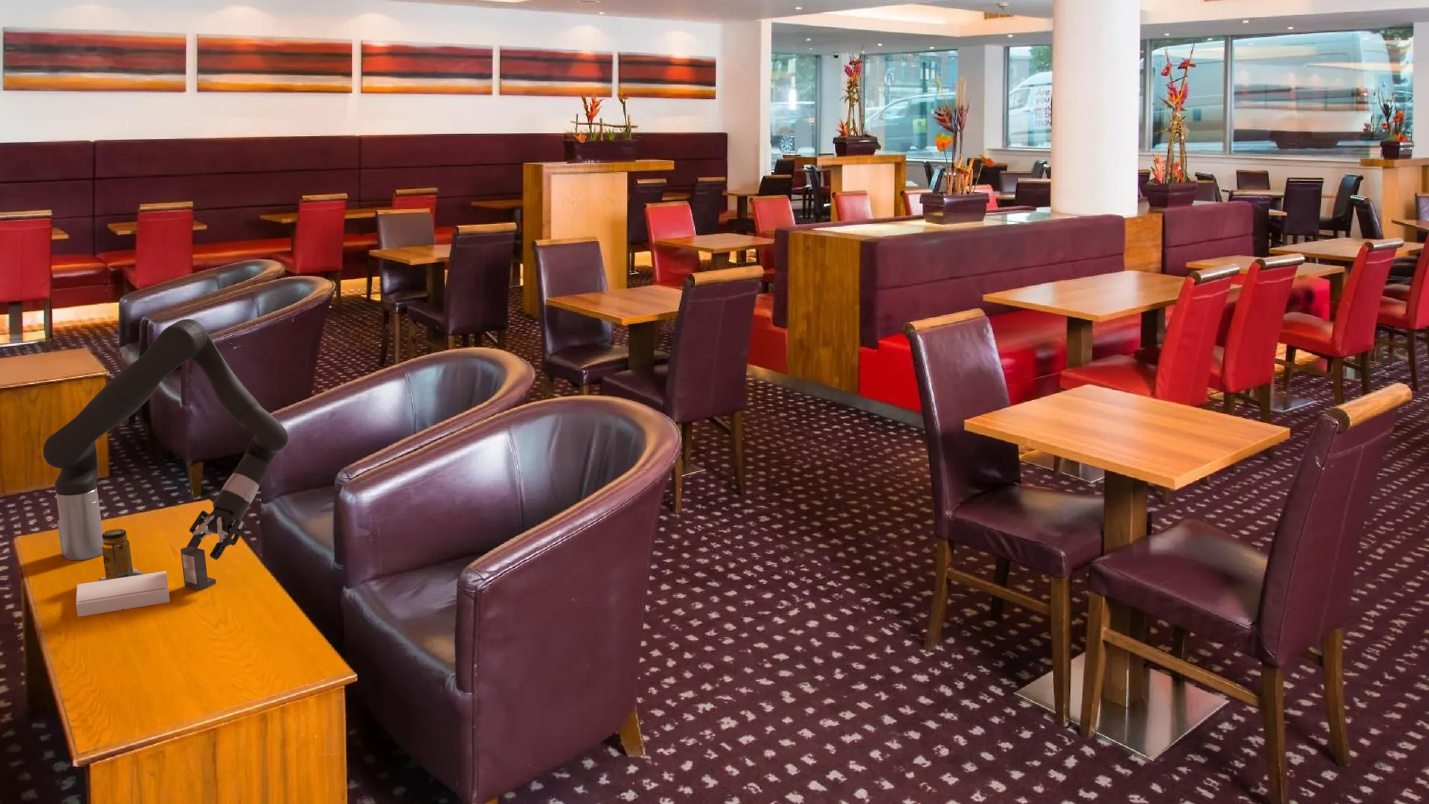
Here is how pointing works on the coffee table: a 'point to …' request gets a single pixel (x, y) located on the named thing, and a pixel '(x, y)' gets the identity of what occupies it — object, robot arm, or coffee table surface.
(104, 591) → the board
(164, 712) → the coffee table surface
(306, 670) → the coffee table surface
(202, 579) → the dark block with lip
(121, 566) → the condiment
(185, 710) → the coffee table surface
